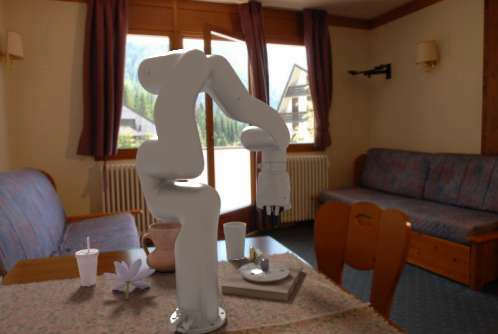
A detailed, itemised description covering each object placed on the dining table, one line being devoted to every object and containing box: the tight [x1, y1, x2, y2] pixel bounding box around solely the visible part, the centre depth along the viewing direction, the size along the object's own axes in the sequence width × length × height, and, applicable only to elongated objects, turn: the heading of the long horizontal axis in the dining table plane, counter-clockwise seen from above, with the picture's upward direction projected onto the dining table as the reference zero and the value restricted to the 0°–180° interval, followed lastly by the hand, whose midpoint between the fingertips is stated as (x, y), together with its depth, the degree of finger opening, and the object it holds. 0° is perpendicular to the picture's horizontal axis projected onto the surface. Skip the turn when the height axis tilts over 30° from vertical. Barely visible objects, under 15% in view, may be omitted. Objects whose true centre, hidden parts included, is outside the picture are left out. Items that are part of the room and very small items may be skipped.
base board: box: [221, 259, 304, 302], centre depth 107 cm, size 22×18×2 cm
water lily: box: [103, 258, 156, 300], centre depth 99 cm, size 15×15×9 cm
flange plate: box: [241, 247, 289, 284], centre depth 109 cm, size 18×14×4 cm
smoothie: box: [74, 236, 100, 287], centre depth 107 cm, size 6×6×14 cm
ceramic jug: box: [140, 221, 182, 273], centre depth 120 cm, size 18×14×14 cm
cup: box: [223, 221, 247, 261], centre depth 129 cm, size 8×8×12 cm
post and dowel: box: [248, 246, 270, 270], centre depth 111 cm, size 12×2×6 cm, turn 24°
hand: (273, 227), depth 113 cm, fingers closed
